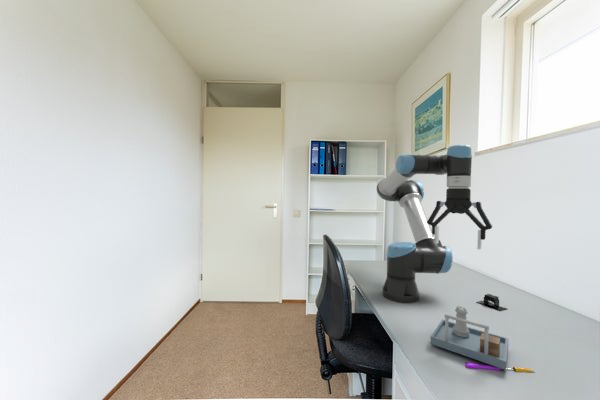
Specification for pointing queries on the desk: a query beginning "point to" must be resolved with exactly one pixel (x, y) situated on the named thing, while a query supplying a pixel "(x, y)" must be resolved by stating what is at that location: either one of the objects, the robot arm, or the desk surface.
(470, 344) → the tray
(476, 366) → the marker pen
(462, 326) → the rook chess piece
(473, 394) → the desk surface
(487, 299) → the black piece
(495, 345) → the walnut block
